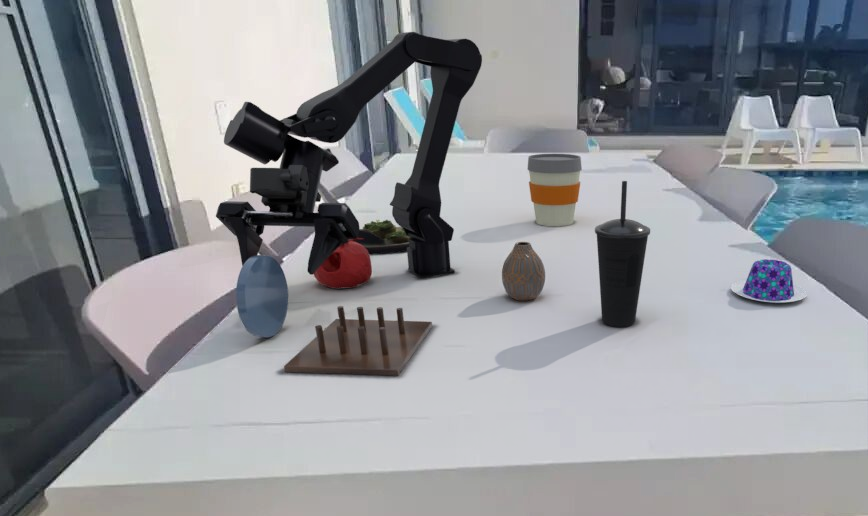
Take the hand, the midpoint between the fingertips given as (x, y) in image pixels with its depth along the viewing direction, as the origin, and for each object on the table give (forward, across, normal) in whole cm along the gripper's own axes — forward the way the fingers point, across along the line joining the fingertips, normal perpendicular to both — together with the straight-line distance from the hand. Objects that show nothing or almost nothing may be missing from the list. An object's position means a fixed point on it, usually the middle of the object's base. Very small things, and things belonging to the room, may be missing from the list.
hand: (277, 272), depth 89 cm
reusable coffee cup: (-43, +34, +54) cm, 77 cm away
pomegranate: (-8, +1, +18) cm, 20 cm away
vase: (-4, +33, +15) cm, 36 cm away
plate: (+8, 0, +2) cm, 8 cm away
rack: (+11, +14, 0) cm, 18 cm away
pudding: (-7, +72, +18) cm, 75 cm away
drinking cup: (+3, +48, +8) cm, 49 cm away
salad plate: (-26, -1, +37) cm, 45 cm away
